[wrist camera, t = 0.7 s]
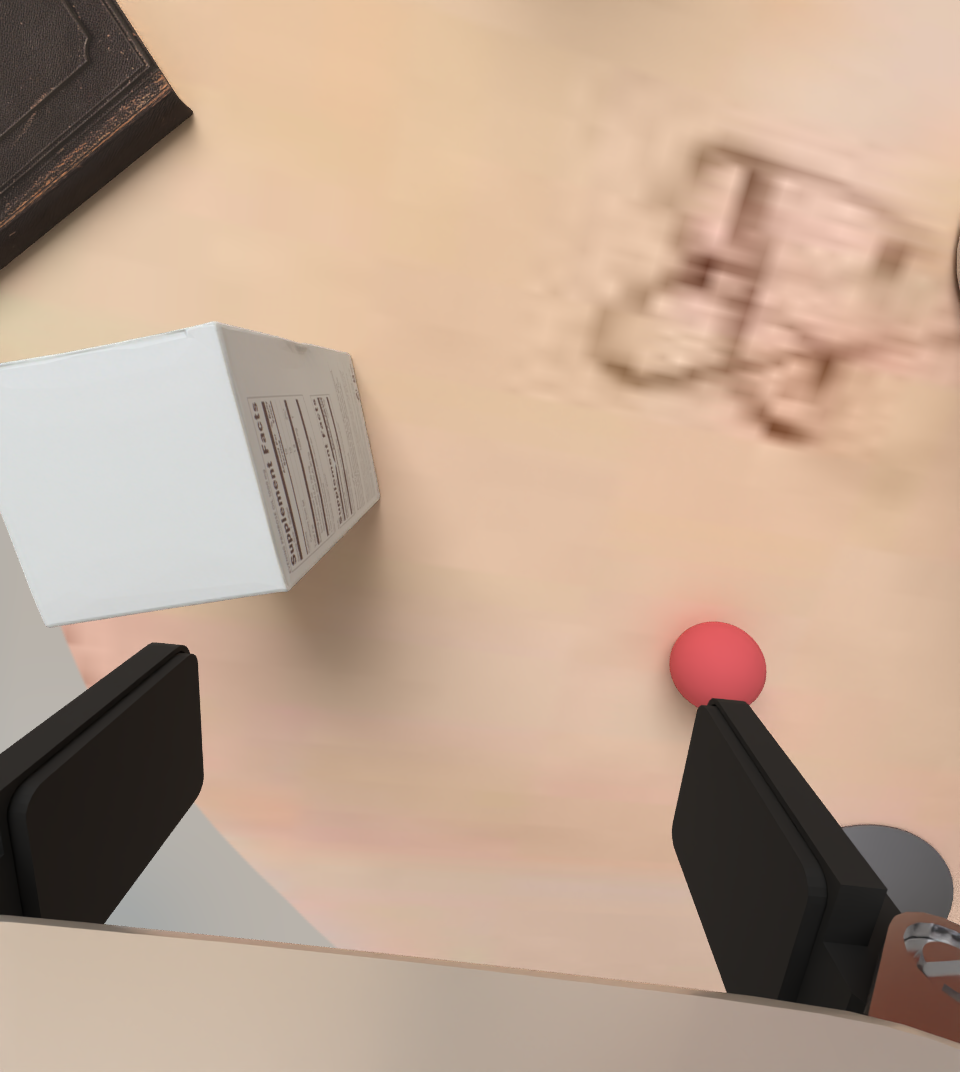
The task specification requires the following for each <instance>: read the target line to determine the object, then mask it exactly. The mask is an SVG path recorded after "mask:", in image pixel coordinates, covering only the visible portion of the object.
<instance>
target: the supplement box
mask: <svg viewBox="0 0 960 1072" xmlns="http://www.w3.org/2000/svg"><path fill="white" fill-rule="evenodd" d="M379 499H380V492H379V487H378V482H377V477H376V472H375V467H374V463H373V458H372V453H371V449H370V444H369V439H368V434H367V430H366V425H365V420H364V416H363V411H362V406H361V402H360V397H359V392H358V388H357V383H356V378H355V374H354V369H353V364H352V360H351V356H350V354H349V353H346V352H342V351H337V350H333V349H329V348H325V347H320V346H316V345H312V344H307V343H298V342H294V341H291V340H288V339H284V338H281V337H277V336H273V335H269V334H265V333H261V332H257V331H253V330H249V329H244V328H240V327H236V326H232V325H228V324H224V323H220V322H209V323H205V324H201V325H197V326H192V327H188V328H184V329H179V330H175V331H170V332H166V333H161V334H156V335H151V336H146V337H141V338H136V339H131V340H127V341H122V342H118V343H113V344H107V345H102V346H97V347H92V348H87V349H81V350H76V351H71V352H66V353H60V354H54V355H48V356H42V357H36V358H30V359H24V360H17V361H11V362H5V363H0V513H1V515H2V518H3V521H4V523H5V526H6V528H7V531H8V533H9V536H10V539H11V541H12V544H13V546H14V549H15V551H16V554H17V557H18V559H19V562H20V565H21V567H22V570H23V573H24V575H25V578H26V580H27V583H28V586H29V589H30V591H31V594H32V596H33V599H34V601H35V603H36V606H37V608H38V610H39V613H40V615H41V617H42V620H43V622H44V624H45V625H46V627H49V628H51V627H57V626H63V625H69V624H75V623H81V622H88V621H95V620H101V619H108V618H114V617H120V616H126V615H132V614H138V613H144V612H151V611H157V610H164V609H170V608H177V607H183V606H190V605H197V604H204V603H210V602H216V601H223V600H229V599H236V598H242V597H249V596H256V595H262V594H269V593H275V592H286V591H289V590H291V588H292V587H293V586H294V585H296V583H297V582H298V581H299V580H300V579H301V578H302V577H303V576H304V575H305V574H306V573H307V572H308V571H309V570H310V569H311V568H312V567H313V566H314V565H315V564H316V563H317V562H318V561H319V560H320V559H321V558H322V557H323V556H324V555H325V554H326V553H327V552H328V551H329V550H330V549H331V548H332V547H333V546H334V545H335V544H336V543H337V542H338V541H339V540H340V539H341V538H342V537H343V536H344V535H345V534H346V533H347V532H348V530H349V529H351V528H352V527H353V526H354V525H355V524H356V523H357V522H358V521H359V519H360V518H361V517H362V516H363V515H364V514H365V513H366V512H367V511H368V510H369V509H370V508H371V507H372V506H373V505H374V504H375V503H376V502H377V501H378V500H379Z"/></svg>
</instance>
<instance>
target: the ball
mask: <svg viewBox="0 0 960 1072" xmlns="http://www.w3.org/2000/svg"><path fill="white" fill-rule="evenodd" d="M670 672H671V676H672V679H673V682H674V684H675V686H676V688H677V689H678V691H679V692H680V693H681V694H682V696H683V697H684V698H685V699H687V700H688V701H689V702H690V703H692V704H693V705H695V706H696V707H698V708H699V706H701V705H707V704H708V702H709V700H710V699H712V698H718V699H728V700H738V701H745V702H746V703H747V704H748V705H750V704H751V703H752V702H753V701H754V700H755V699H756V698H757V697H758V696H759V694H760V693H761V691H762V689H763V687H764V684H765V680H766V664H765V659H764V656H763V653H762V651H761V649H760V648H759V646H758V645H757V643H756V642H755V641H754V640H753V638H752V637H750V636H749V635H748V634H747V633H746V632H744V631H743V630H741V629H739V628H737V627H735V626H733V625H730V624H727V623H722V622H705V623H701V624H697V625H695V626H693V627H691V628H689V629H688V630H686V631H685V632H684V633H683V634H681V635H680V637H679V638H678V639H677V641H676V642H675V644H674V646H673V648H672V651H671V655H670Z"/></svg>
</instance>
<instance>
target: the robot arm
mask: <svg viewBox="0 0 960 1072" xmlns="http://www.w3.org/2000/svg"><path fill="white" fill-rule="evenodd" d="M957 278H958V283H959V289H960V237H959V243H958V248H957ZM203 779H204V772H203V752H202V733H201V714H200V695H199V676H198V661H197V658H196V656H195V655H194V654H190V652H189V650H188V648H187V647H186V646H185V645H175V644H165V643H151V644H149V645H147V646H146V647H144V648H143V649H142V650H140V651H139V652H138V653H136V654H135V655H134V656H132V657H131V658H130V659H128V660H127V661H125V662H124V663H123V664H121V665H120V666H119V667H117V668H116V669H115V670H113V671H112V672H111V673H109V674H108V675H107V676H105V677H104V678H102V679H101V680H100V681H98V682H97V683H96V684H94V685H93V686H92V687H90V688H89V689H88V690H86V691H85V692H84V693H82V694H81V695H79V696H78V697H77V698H76V699H74V700H73V701H71V702H70V703H69V704H67V705H66V706H65V707H63V708H62V709H61V710H59V711H58V712H56V713H55V714H54V715H52V716H51V717H50V718H48V719H47V720H46V721H44V722H43V723H42V724H40V725H39V726H37V727H36V728H35V729H33V730H32V731H31V732H30V733H28V734H27V735H25V736H24V737H23V738H22V739H20V740H19V741H17V742H16V743H14V744H13V745H12V746H10V747H9V748H8V749H6V750H5V751H4V752H2V753H1V754H0V1072H960V925H958V924H956V923H954V922H951V921H949V920H947V919H945V918H942V917H939V916H935V915H931V914H928V913H924V912H904V913H901V912H900V911H899V909H898V908H897V907H896V905H895V904H894V903H893V901H892V900H891V899H890V897H889V896H888V895H887V890H888V889H887V888H886V886H885V885H884V884H883V882H882V881H881V880H880V878H879V877H878V876H877V874H876V873H875V872H874V870H873V869H872V868H871V866H870V865H869V864H868V862H867V861H866V860H865V858H864V857H863V856H862V855H861V853H860V852H859V851H858V849H857V848H856V847H855V845H854V844H853V843H852V841H851V840H850V839H849V837H848V836H847V835H846V833H845V832H844V831H843V829H842V828H841V827H840V825H839V824H838V823H837V821H836V820H835V819H834V817H833V816H832V815H831V813H830V812H829V811H828V809H827V808H826V807H825V805H824V804H823V803H822V802H821V800H820V799H819V798H818V796H817V795H816V794H815V792H814V791H813V790H812V788H811V787H810V786H809V784H808V783H807V782H806V780H805V779H804V778H803V776H802V775H801V774H800V772H799V771H798V770H797V768H796V767H795V766H794V764H793V763H792V762H791V760H790V759H789V758H788V756H787V755H786V754H785V753H784V751H783V750H782V749H781V747H780V746H779V745H778V743H777V742H776V741H775V739H774V738H773V737H772V735H771V734H770V733H769V731H768V730H767V729H766V727H765V726H764V725H763V723H762V722H761V721H760V719H759V718H758V717H757V715H756V714H755V713H754V711H753V710H752V709H751V707H750V706H749V705H748V704H747V703H746V702H745V701H738V700H728V699H718V698H712V699H710V700H709V702H708V704H707V705H701V706H699V708H698V710H697V714H696V718H695V723H694V727H693V732H692V737H691V741H690V746H689V751H688V755H687V760H686V764H685V769H684V774H683V778H682V783H681V788H680V792H679V797H678V801H677V806H676V811H675V815H674V820H673V825H672V839H673V845H674V849H675V851H676V854H677V857H678V860H679V862H680V865H681V868H682V871H683V873H684V876H685V879H686V882H687V884H688V887H689V890H690V893H691V895H692V898H693V901H694V904H695V906H696V909H697V912H698V915H699V917H700V920H701V923H702V926H703V928H704V931H705V934H706V937H707V939H708V942H709V945H710V948H711V950H712V953H713V956H714V959H715V961H716V964H717V967H718V970H719V972H720V975H721V978H722V981H723V983H724V986H725V989H726V992H727V993H723V992H714V991H705V990H698V989H690V988H683V987H675V986H668V985H659V984H650V983H642V982H633V981H624V980H616V979H607V978H598V977H590V976H581V975H572V974H563V973H555V972H546V971H537V970H529V969H520V968H511V967H502V966H494V965H485V964H476V963H467V962H458V961H448V960H439V959H430V958H421V957H412V956H403V955H394V954H385V953H375V952H366V951H357V950H347V949H338V948H329V947H319V946H310V945H301V944H291V943H282V942H272V941H263V940H252V939H244V938H233V937H224V936H214V935H204V934H194V933H185V932H175V931H164V930H155V929H145V928H135V927H126V926H116V925H106V924H104V923H105V922H106V920H107V919H108V918H109V916H110V915H111V914H112V912H113V911H114V910H115V908H116V907H117V906H118V904H119V903H120V901H121V900H122V899H123V897H124V896H125V895H126V893H127V892H128V891H129V889H130V888H131V886H132V885H133V884H134V882H135V881H136V880H137V878H138V877H139V876H140V874H141V873H142V872H143V870H144V869H145V868H146V866H147V865H148V864H149V862H150V861H151V859H152V858H153V857H154V855H155V854H156V853H157V851H158V850H159V849H160V847H161V846H162V845H163V843H164V842H165V840H166V839H167V838H168V836H169V835H170V833H171V832H172V831H173V829H174V828H175V827H176V825H177V824H178V823H179V822H180V820H181V819H182V818H183V816H184V815H185V813H186V812H187V811H188V809H189V808H190V807H191V805H192V804H193V803H194V801H195V800H196V798H197V797H198V795H199V793H200V791H201V788H202V785H203Z"/></svg>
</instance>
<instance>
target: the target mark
mask: <svg viewBox="0 0 960 1072" xmlns="http://www.w3.org/2000/svg"><path fill="white" fill-rule="evenodd" d="M842 829H843V831H844V832H845V833H846V835H847V836H848V837H849V839H850V840H851V841H852V843H853V844H854V845H855V847H856V848H857V849H858V851H859V852H860V853H861V855H862V856H863V857H864V858H865V860H866V861H867V862H868V864H869V865H870V866H871V868H872V869H873V870H874V872H875V873H876V874H877V876H878V877H879V878H880V880H881V881H882V882H883V884H884V885H885V886H886V888H887V889H888V890H887V895H888V896H889V897H890V899H891V900H892V901H893V903H894V904H895V905H896V907H897V908H898V909H899V911H900V912H901V913H904V912H924V913H928V914H931V915H935V916H939V917H942V918H945V919H947V917H948V915H949V912H950V909H951V906H952V901H953V882H952V877H951V874H950V871H949V869H948V867H947V865H946V863H945V861H944V860H943V858H942V857H941V856H940V855H939V853H938V852H937V851H936V850H935V849H934V848H933V847H932V846H930V845H929V844H928V843H927V842H925V841H924V840H922V839H921V838H919V837H918V836H916V835H913V834H911V833H909V832H907V831H904V830H901V829H898V828H893V827H888V826H882V825H854V826H846V827H842Z"/></svg>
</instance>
